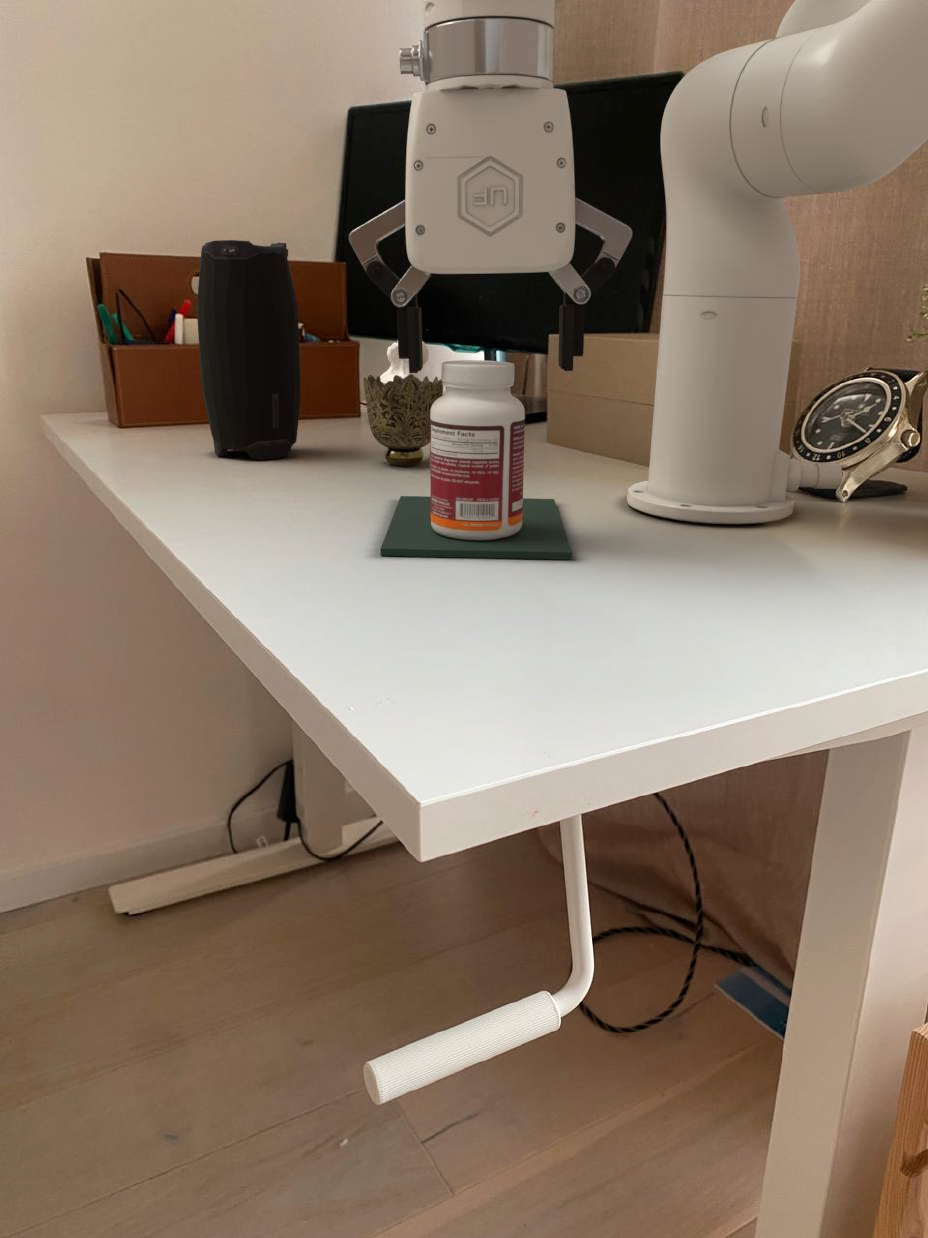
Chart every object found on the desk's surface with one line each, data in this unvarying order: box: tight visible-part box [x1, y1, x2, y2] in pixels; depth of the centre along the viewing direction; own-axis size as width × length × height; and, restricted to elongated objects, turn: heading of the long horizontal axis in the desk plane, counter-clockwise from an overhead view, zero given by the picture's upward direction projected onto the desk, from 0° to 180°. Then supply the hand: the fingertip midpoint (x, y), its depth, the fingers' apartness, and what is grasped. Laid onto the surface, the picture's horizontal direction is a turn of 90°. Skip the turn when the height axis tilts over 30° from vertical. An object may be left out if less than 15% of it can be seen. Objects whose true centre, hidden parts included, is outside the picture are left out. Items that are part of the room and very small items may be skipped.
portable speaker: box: [196, 239, 301, 461], centre depth 94 cm, size 9×9×20 cm
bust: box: [380, 339, 429, 385], centre depth 119 cm, size 12×8×11 cm
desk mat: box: [379, 495, 573, 560], centre depth 69 cm, size 12×16×1 cm
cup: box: [363, 374, 445, 467], centre depth 92 cm, size 8×7×8 cm
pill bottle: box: [429, 359, 526, 541], centre depth 64 cm, size 6×6×11 cm
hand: (490, 369), depth 63 cm, fingers open, 9 cm apart
